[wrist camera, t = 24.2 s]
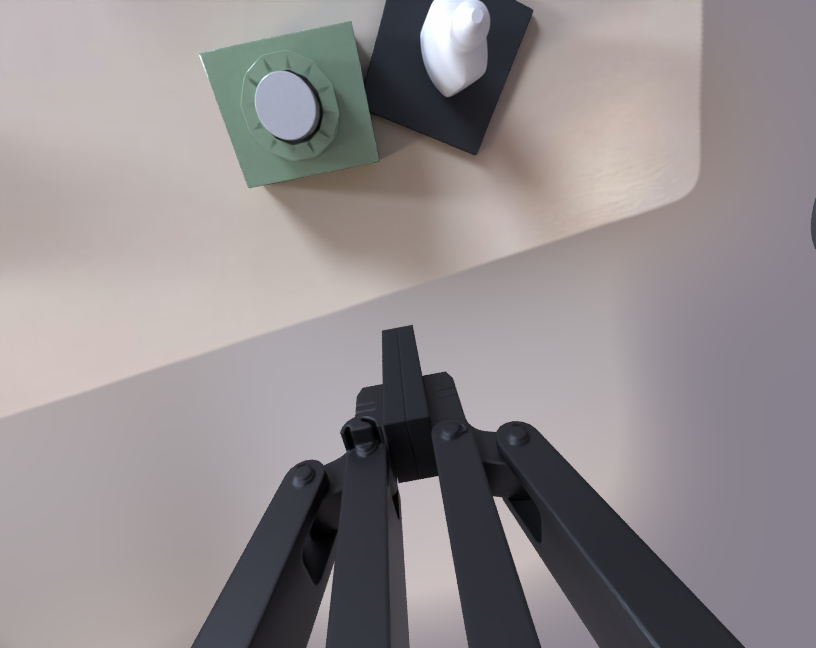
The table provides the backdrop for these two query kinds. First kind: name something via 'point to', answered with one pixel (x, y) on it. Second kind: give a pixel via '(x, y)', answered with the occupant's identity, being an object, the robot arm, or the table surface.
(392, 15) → the mat
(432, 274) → the table surface
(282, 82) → the grey round button
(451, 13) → the eye dropper bottle
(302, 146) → the green button base
